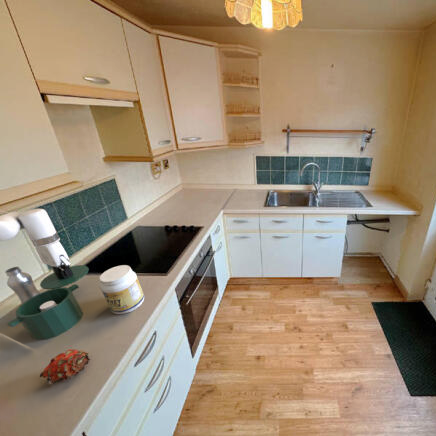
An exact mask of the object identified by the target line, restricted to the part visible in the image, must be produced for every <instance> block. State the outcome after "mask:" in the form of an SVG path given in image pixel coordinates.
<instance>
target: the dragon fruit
mask: <svg viewBox="0 0 436 436" xmlns="http://www.w3.org/2000/svg"><path fill="white" fill-rule="evenodd" d="M90 361H91V359H90V357H89V351H86V350H83V349H67V350H66V351H65V352H60V353H59V354H57V355H56V356H55V357H53V358H51V359H50V362H49V363H48V365H47V366H46V367H45V368H44V369H43V370H42V371H41V372H40V374H39V377H40V378H43V379H46V381H48V382H47V384H48V385H49V386H53V384H54V383H55V382H57V381H58V380H60V379H61V378H62V381H63V382H65V381H68V380H69V379H72V378H73V377H74V375H77V374H78V373H80V372H82V371H83V370H84V369H85V366H87V365H88V364H89V363H90Z"/></svg>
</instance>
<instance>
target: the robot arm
mask: <svg viewBox="0 0 436 436" xmlns="http://www.w3.org/2000/svg"><path fill="white" fill-rule="evenodd" d="M9 212H10V213H8V212H7V213H8V214H5V215H2V216H0V242H5V241H9V240H12V239H14V238H15V237H16V236H17V235H18V233H19V232H20V231H21V230H24V231H25V233H26V234H27V236H28V237H29V239H30V241H31V243H32V245H33V246H34V247H35V250H36V253H37V254H38V256H39V258H40V261H41V262H42V264H44V265H47V266H50V268H51V269H52V272H53V273H55V272H54V270H53V266H54V267H59V268H60V270H61V271H60V272H61V274H62V276H63V277H64V279H66V278H68V277H70V276H72V275H73V272H72V270H71V268H70V267H71V262H70V257H69V256H68V253H67V252H66V250H65V248H64V247H63V245H62V243H61V242H60V240H61V238H60V235H59V234H58V231H57V230H56V228H55V226H54V224H53V222H52V220H51V218H50V216H49V214H48V212H47V211H46V210H45V209H43V208H31V209H28V210H23V211H9ZM63 264H64V266H63V267H62V266H61V265H63ZM55 275H56V274H55Z"/></svg>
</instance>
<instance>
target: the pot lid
mask: <svg viewBox="0 0 436 436" xmlns="http://www.w3.org/2000/svg"><path fill="white" fill-rule="evenodd" d="M61 266H62V267H63V266H64V264H63V265H61ZM70 268H71V270H72V272H73V275H72V276H70V277H68V278H66V279H64V277H63V276H62V274H61V272H60V271H61V270H60V268H59V267H54V266H53V268H52V269H53V270H54V271H53V270H52V271H53V272H52V273H50V274H49V275H47V276H46V277H44V278H43V279H42V280H40V281H41V282H40V283H39V286H40V288H41V289H44V290H51V289H55V288H61V287H66V286H69V285H73V283H76V282H78V281H79V280H81V279H82V278H85V276H87V274H88V272H89V271H90V270H89V267H88V266H87V265H84V264H83V265H82V264H78V265H72V266H71V265H70ZM54 272H55V273H54ZM55 274H56V275H55Z"/></svg>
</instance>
